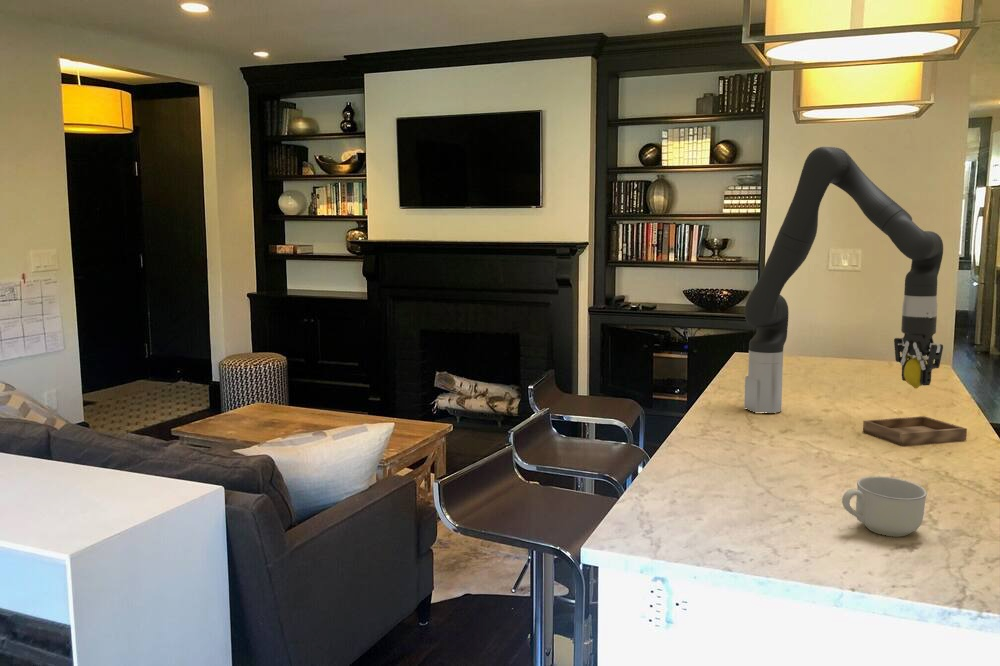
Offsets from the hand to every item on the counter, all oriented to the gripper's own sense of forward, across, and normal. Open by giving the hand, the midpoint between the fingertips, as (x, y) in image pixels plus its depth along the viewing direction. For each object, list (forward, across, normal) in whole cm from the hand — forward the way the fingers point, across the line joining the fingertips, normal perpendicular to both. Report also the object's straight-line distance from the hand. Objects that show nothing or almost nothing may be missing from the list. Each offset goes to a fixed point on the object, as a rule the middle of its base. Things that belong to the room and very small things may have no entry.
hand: (915, 382), depth 201 cm
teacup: (+14, +52, -51) cm, 74 cm away
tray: (+13, 0, 0) cm, 13 cm away
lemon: (+2, 0, 0) cm, 2 cm away
